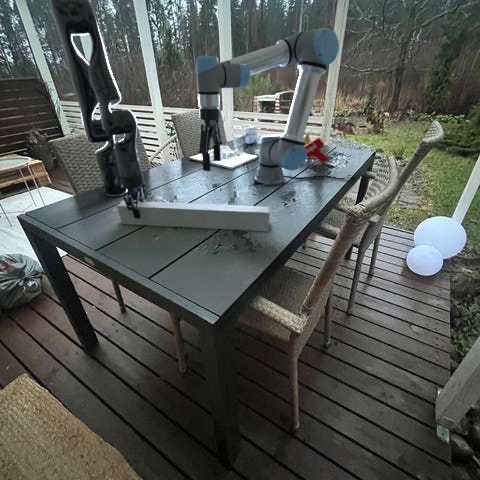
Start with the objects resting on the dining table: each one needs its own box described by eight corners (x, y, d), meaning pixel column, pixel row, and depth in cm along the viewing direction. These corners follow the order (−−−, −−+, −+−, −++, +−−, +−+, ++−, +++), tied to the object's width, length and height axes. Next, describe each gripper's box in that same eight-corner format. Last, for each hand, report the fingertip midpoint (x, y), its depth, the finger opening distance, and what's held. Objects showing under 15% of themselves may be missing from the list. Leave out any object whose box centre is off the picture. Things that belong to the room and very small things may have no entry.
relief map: (231, 168, 161) (231, 160, 158) (189, 159, 179) (189, 151, 176) (257, 158, 179) (257, 150, 176) (217, 150, 197) (216, 142, 194)
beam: (269, 224, 104) (270, 206, 100) (268, 231, 100) (269, 212, 96) (127, 218, 110) (122, 200, 106) (121, 224, 106) (116, 206, 102)
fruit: (299, 146, 205) (300, 129, 198) (307, 145, 207) (309, 128, 201) (303, 148, 200) (305, 131, 193) (312, 147, 202) (314, 130, 196)
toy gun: (331, 157, 168) (319, 136, 164) (331, 159, 164) (318, 137, 160) (306, 172, 178) (294, 153, 174) (305, 174, 174) (292, 154, 170)
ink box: (252, 141, 220) (252, 125, 213) (257, 142, 217) (257, 126, 210) (245, 142, 215) (245, 127, 208) (249, 144, 212) (249, 127, 205)
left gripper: (129, 165, 103) (139, 206, 112) (110, 178, 91) (122, 223, 100) (148, 166, 102) (156, 207, 111) (132, 179, 90) (142, 224, 99)
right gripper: (210, 103, 109) (213, 156, 121) (186, 111, 89) (192, 174, 100) (228, 104, 108) (229, 157, 119) (208, 112, 87) (211, 176, 99)
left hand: (140, 214), depth 105 cm, fingers closed on beam, 5 cm apart
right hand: (212, 165), depth 110 cm, fingers open, 13 cm apart
